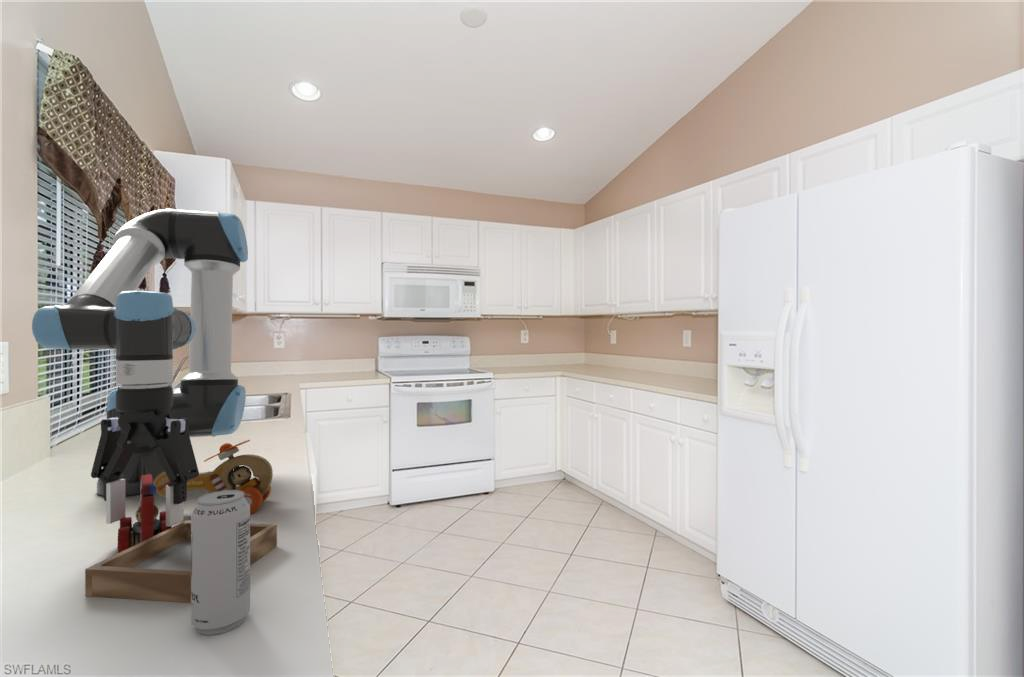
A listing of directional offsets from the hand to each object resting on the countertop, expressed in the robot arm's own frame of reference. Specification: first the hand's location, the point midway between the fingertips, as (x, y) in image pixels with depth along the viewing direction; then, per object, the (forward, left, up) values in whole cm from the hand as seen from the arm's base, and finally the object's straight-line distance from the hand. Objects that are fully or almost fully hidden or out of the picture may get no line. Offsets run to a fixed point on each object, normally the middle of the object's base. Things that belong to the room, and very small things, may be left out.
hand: (145, 521), depth 80 cm
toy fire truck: (0, 0, -4) cm, 4 cm away
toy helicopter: (-16, +1, -4) cm, 17 cm away
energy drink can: (+19, +28, -4) cm, 34 cm away
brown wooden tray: (+7, +14, -4) cm, 16 cm away
